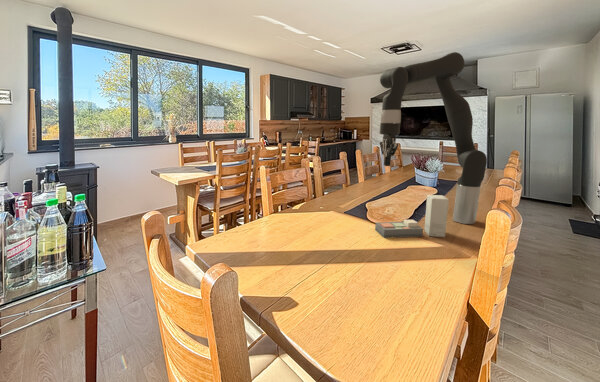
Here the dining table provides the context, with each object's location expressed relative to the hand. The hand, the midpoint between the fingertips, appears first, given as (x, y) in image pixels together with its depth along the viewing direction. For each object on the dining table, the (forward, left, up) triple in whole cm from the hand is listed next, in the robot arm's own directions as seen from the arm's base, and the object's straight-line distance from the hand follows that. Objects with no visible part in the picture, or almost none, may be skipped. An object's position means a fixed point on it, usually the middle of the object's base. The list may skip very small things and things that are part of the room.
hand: (386, 165), depth 117 cm
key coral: (+3, +5, -25) cm, 26 cm away
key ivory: (-7, +9, -24) cm, 26 cm away
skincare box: (-15, +14, -27) cm, 34 cm away
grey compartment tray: (-2, +7, -27) cm, 28 cm away
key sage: (-2, +7, -25) cm, 26 cm away
